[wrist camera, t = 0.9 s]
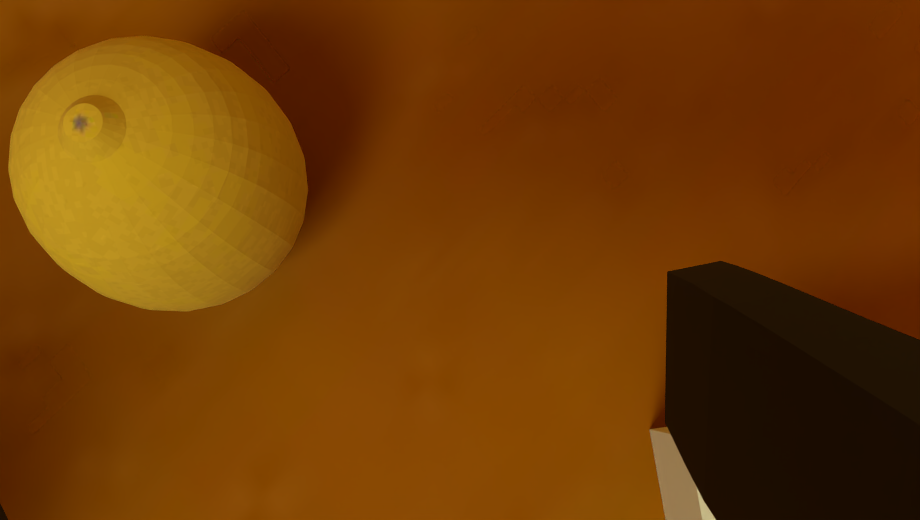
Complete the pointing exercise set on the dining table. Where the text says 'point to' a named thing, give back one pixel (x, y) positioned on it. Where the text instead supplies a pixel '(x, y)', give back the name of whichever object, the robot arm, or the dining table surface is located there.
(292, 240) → the lemon
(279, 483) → the dining table surface
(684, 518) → the block
